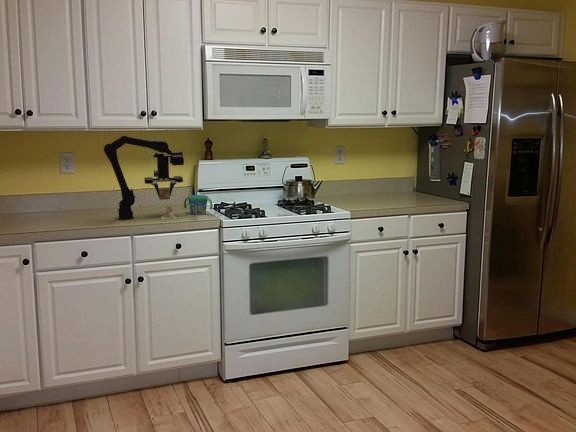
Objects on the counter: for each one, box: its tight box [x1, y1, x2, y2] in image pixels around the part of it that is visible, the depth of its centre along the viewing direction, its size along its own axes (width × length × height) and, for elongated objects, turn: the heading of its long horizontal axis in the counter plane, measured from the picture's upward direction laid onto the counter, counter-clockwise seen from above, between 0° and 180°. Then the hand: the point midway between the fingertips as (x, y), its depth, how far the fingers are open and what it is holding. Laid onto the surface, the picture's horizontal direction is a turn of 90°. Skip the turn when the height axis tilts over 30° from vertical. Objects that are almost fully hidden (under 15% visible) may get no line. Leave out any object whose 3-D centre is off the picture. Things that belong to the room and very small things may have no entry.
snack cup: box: [183, 194, 213, 216], centre depth 320 cm, size 16×10×10 cm
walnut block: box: [158, 187, 171, 201], centre depth 309 cm, size 5×5×5 cm
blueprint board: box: [160, 215, 177, 220], centre depth 313 cm, size 16×20×1 cm
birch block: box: [162, 206, 175, 219], centre depth 308 cm, size 5×5×5 cm
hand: (164, 196), depth 309 cm, fingers closed on walnut block, 5 cm apart
